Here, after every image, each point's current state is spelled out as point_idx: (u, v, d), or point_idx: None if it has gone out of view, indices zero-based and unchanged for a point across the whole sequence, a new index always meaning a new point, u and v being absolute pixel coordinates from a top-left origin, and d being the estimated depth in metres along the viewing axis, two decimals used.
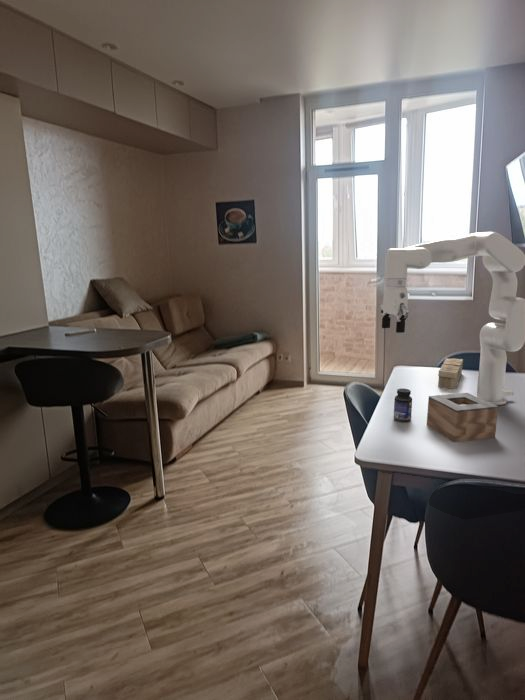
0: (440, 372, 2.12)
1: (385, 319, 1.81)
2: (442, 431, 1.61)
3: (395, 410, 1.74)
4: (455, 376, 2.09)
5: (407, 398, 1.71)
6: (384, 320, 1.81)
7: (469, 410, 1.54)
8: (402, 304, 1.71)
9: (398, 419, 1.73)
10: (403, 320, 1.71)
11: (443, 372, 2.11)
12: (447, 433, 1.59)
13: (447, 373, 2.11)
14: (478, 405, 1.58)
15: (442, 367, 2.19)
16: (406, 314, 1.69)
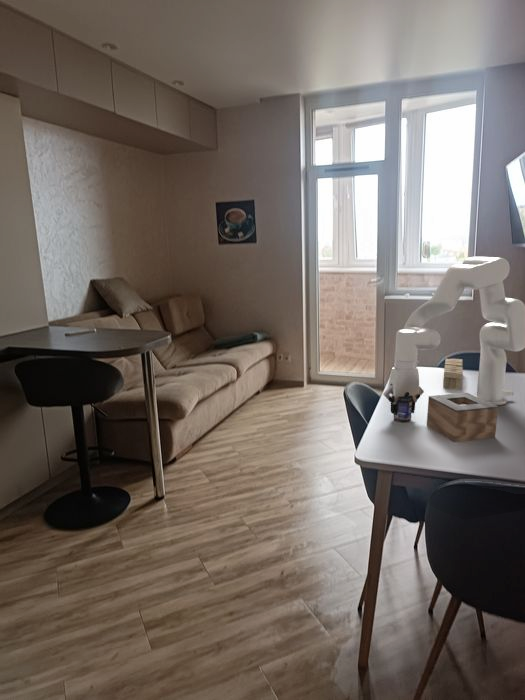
0: (446, 373, 2.11)
1: None
2: (442, 431, 1.61)
3: None
4: (461, 377, 2.08)
5: (407, 398, 1.71)
6: None
7: (469, 410, 1.54)
8: None
9: (398, 419, 1.73)
10: None
11: (449, 373, 2.10)
12: (447, 433, 1.59)
13: (453, 374, 2.10)
14: (478, 405, 1.58)
15: (446, 368, 2.18)
16: None
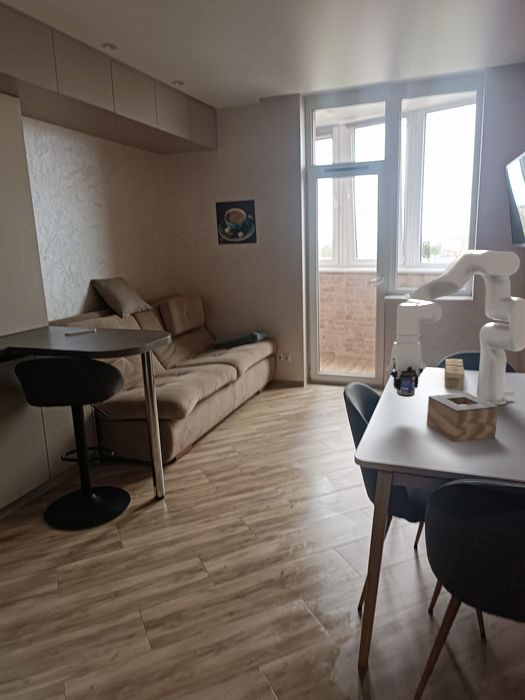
0: (447, 373, 2.10)
1: None
2: (442, 431, 1.61)
3: None
4: (463, 377, 2.08)
5: (409, 373, 1.69)
6: None
7: (469, 410, 1.54)
8: None
9: (401, 394, 1.71)
10: None
11: (451, 373, 2.10)
12: (447, 433, 1.59)
13: (455, 374, 2.09)
14: (478, 405, 1.58)
15: (447, 368, 2.17)
16: None
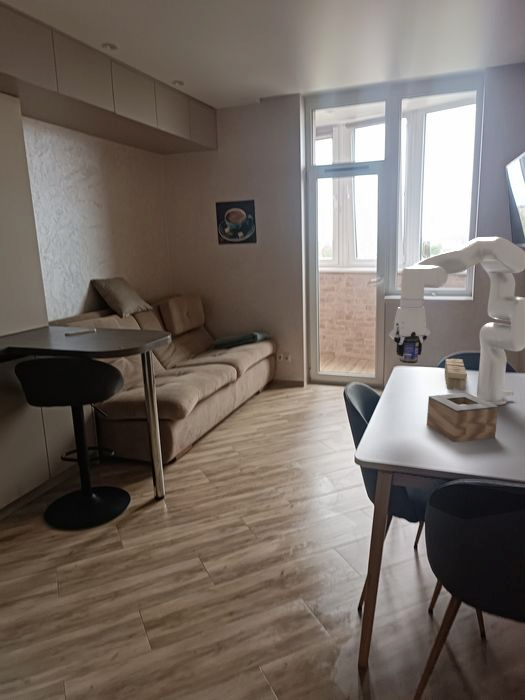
0: (450, 373, 2.10)
1: None
2: (442, 431, 1.61)
3: None
4: (465, 377, 2.08)
5: (413, 338, 1.66)
6: None
7: (469, 410, 1.54)
8: None
9: (404, 360, 1.68)
10: None
11: (453, 373, 2.09)
12: (447, 433, 1.59)
13: (457, 374, 2.09)
14: (478, 405, 1.58)
15: (449, 368, 2.17)
16: None
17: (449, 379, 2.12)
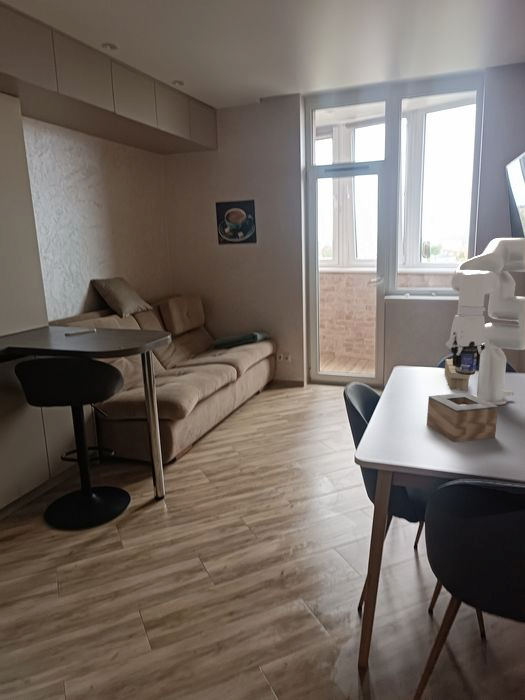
0: (452, 374, 2.09)
1: None
2: (442, 431, 1.61)
3: None
4: (468, 377, 2.08)
5: (471, 348, 1.56)
6: None
7: (469, 410, 1.54)
8: None
9: (461, 372, 1.57)
10: None
11: (455, 374, 2.09)
12: (447, 433, 1.59)
13: (460, 374, 2.08)
14: (478, 405, 1.58)
15: (451, 368, 2.16)
16: None
17: (452, 379, 2.11)
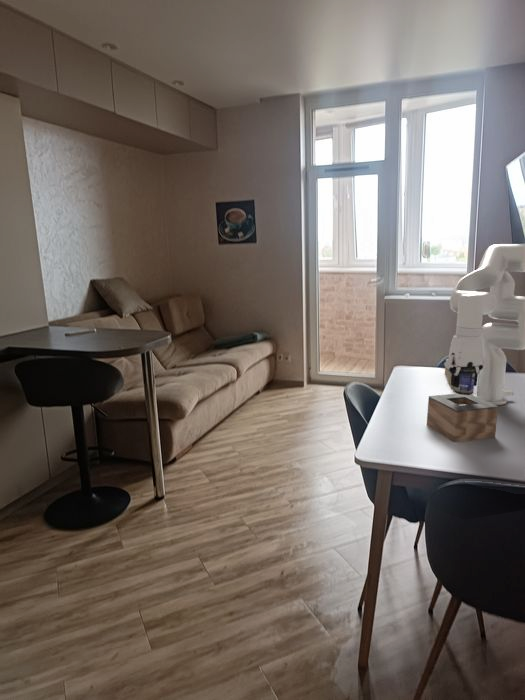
0: None
1: None
2: (442, 431, 1.61)
3: None
4: None
5: (470, 369, 1.57)
6: None
7: (469, 410, 1.54)
8: None
9: (460, 392, 1.59)
10: None
11: None
12: (447, 433, 1.59)
13: None
14: (478, 405, 1.58)
15: None
16: None
17: None
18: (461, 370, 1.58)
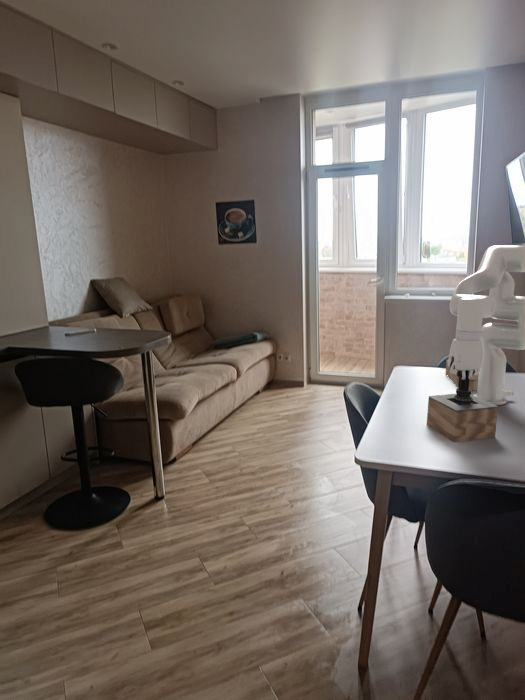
0: None
1: None
2: (442, 431, 1.61)
3: None
4: None
5: (467, 398, 1.60)
6: None
7: (469, 410, 1.54)
8: None
9: None
10: None
11: None
12: (447, 433, 1.59)
13: None
14: (478, 405, 1.58)
15: None
16: None
17: None
18: (459, 399, 1.60)
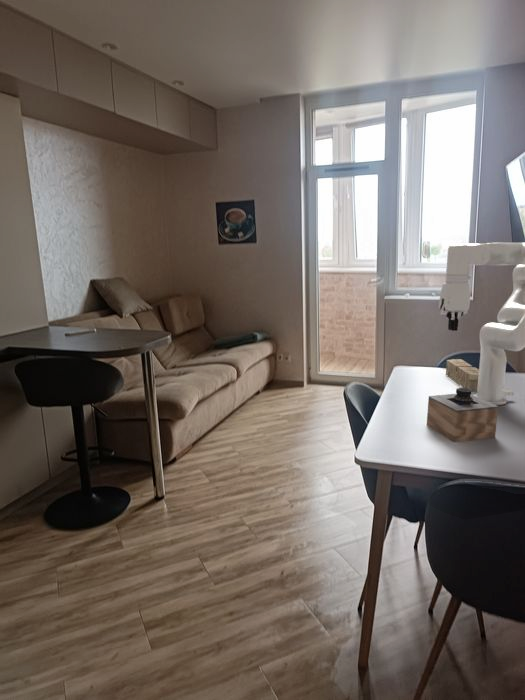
0: (472, 375, 2.06)
1: None
2: (442, 431, 1.61)
3: None
4: None
5: (467, 398, 1.60)
6: None
7: (469, 410, 1.54)
8: None
9: None
10: None
11: (475, 375, 2.06)
12: (447, 433, 1.59)
13: None
14: (478, 405, 1.58)
15: (464, 370, 2.14)
16: None
17: (470, 381, 2.08)
18: (459, 399, 1.60)
